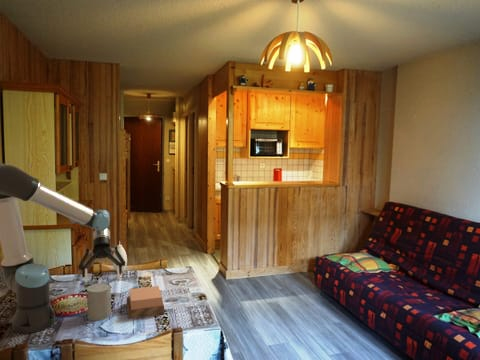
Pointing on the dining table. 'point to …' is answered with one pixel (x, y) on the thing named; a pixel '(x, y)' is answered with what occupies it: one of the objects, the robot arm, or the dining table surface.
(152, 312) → the tower base
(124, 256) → the cream ovoid candle
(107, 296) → the grey cylinder
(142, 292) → the brown square block
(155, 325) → the dining table surface
